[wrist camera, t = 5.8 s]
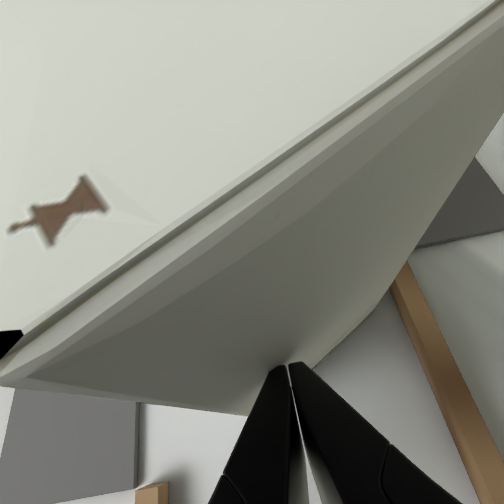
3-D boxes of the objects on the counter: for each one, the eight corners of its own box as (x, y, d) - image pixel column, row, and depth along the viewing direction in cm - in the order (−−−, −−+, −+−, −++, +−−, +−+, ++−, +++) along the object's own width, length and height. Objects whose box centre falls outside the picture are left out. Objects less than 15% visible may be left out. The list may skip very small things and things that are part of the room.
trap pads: (645, 394, 13) (654, 393, 13) (-5, 512, 14) (-12, 515, 14) (439, 118, 23) (442, 114, 22) (59, 204, 24) (55, 200, 23)
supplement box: (383, 306, 16) (697, -115, 3) (256, 422, 15) (-88, 459, 2) (275, 209, 21) (234, -147, 8) (166, 290, 19) (-137, 3, 6)
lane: (583, 668, 10) (684, 756, 7) (145, 733, 10) (94, 837, 8) (325, 108, 25) (329, 72, 22) (150, 148, 25) (134, 117, 23)
